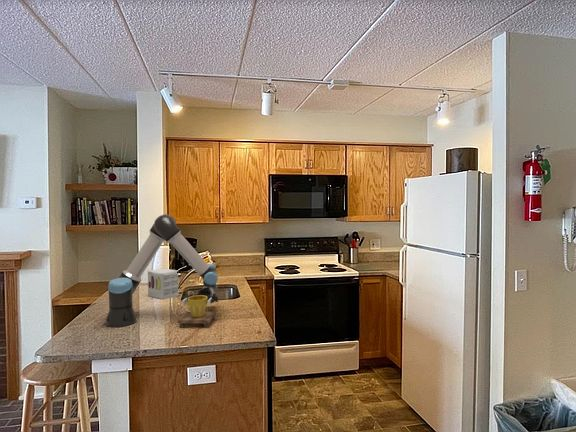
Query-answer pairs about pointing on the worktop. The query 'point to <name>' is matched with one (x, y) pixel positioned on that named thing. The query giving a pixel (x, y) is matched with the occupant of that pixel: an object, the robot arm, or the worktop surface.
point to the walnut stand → (197, 319)
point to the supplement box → (163, 283)
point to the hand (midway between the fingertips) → (195, 303)
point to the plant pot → (197, 305)
